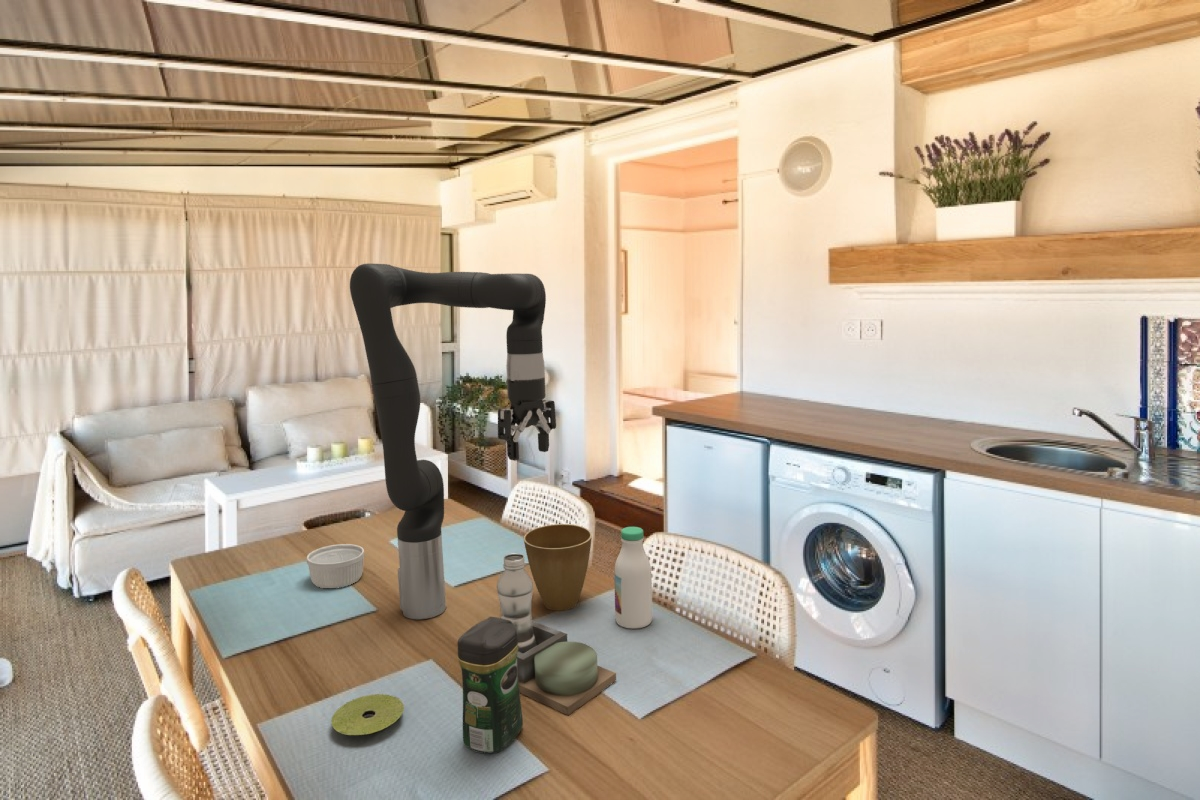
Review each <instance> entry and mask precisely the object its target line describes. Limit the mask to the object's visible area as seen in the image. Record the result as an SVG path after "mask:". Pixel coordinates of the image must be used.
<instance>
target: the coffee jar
mask: <svg viewBox="0 0 1200 800" xmlns="http://www.w3.org/2000/svg"><path fill="white" fill-rule="evenodd" d="M517 653H518V637H517V631H516V627H515V625H514V624H513V623H512V622H511V621H510V620H506V619H502V617H496V616H488V618H486V619H484V620H482V621H480V622H478V623H476V624H475V625H473V626H472V627H470V628H469V629H468V630H467V631H465V632H464V633H463V634H462V635H460V637H459V638H458V639H457V660H458V664H459V667H460V669H461V679H462V682H461V683H462V741H463V744H464V746H465V747H466V748H468V749H469V750H471V751H474V752H476V753H479V754H497V753H500V752H502V751H503V750H505V749H506V748H507V747H508V746H509V745H510V744H511V743H512V742H513V741H514V740H515V739H516V738H517V736H518V735H519V734H520V733H521V730H522V728H523V725H524V724H523V723H524V722H523V721H524V720H523V710H522V704H521V703H522V702H521V695H520V694H521V693H519V683H518V672H517Z"/></svg>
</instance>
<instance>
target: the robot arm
mask: <svg viewBox="0 0 1200 800" xmlns="http://www.w3.org/2000/svg"><path fill="white" fill-rule="evenodd" d="M349 292H350V296H351V301H352V304H353V307H354V312H355V314H356V318H357V320H358V324H359V328H360V331H361V332H360V333H361V336H362V341H363V344H364V350H365V355H366V359H367V364H368V368H369V375H370V382H371V389H372V393H373V398H374V399H373V401H374V403H375V410H376V412H377V418H378V426H379V431H380V436H381V437H380V438H381V444H382V452H383V461H384V462H383V463H384V464H383V465H384V466H383V467H384V478H385V487H386V492H387V494H388V495H387V496H388V498H389V499H390V502H391V503H392V504H393V506H395V508H397V509H398V510H399V511H404V513H403V516H402V517H401V519H400V521H398V524H397V527H396V533H397V534H396V535H397V548H398V549H397V550H398V562H399V568H398V569H397V578H398V579H397V580H398V581H397V582H398V595H399V608H400V610H401V611H402V615H403V616H404V617H405V618H407V619H411V620H428V619H431V618H434V617H437V616H439V615H441V614H442V613H444V612H445V611H446V608H447V605H446V603H447V601H446V588H445V587H446V586H445V585H446V584H445V571H444V570H445V569H444V552H443V550H444V549H443V537H442V536H443V535H442V525H443V522H444V520H445V519H444V517H445V487H444V486H445V485H444V478H443V475H442V472H441V470H440V469H439V467H438V466H437V465H436V464H435V463H434V462H433V461H431V460H428V459H417V458H418V457H417V452H416V443H415V442H416V441H415V439H416V430H417V427H418V422H419V415H420V409H421V393H420V387H419V381H418V376H417V371H416V369H415V365H414V363H413V361H412V359H411V358H410V356H409V354H408V352H407V351H406V349H405V347H404V346H403V344H402V343H401V341H400V339H399V338H398V334H397V333H396V330H395V327H394V326H395V325H394V321H393V315H392V308H396V307H399V306H400V307H401V306H406V305H414V304H435V305H436V304H437V305H443V306H449V307H456V308H468V309H469V308H470V309H471V308H473V309H488V308H490V309H495V310H503V311H505V310H507V311H512V321H511V323H510V324H509V325H508V327H507V329H506V336H505V337H506V338H505V339H506V354H507V355H506V365H505V366H506V367H505V368H506V388H507V392H506V393H507V399H508V401H509V402H510V406H509V408H506V409H505V408H499V409H498V410H497V438H498V439H499V440H502V441H505V442H506V454H507V458H508V459H509V461H510V460H511V461H514V462H516V461H518V460H519V459H520V458H519V457H520V453H519V441H518V440H519V438H520V435H521V433H523V432H524V430H525V428H526V429H527V428H529V427H531V426H533V427H535V428H536V430H537V432H538V433H537V442H538V443H537V445H538V446H537V447H538V449H537V450H538V451H539V452H542V453H546V452H548V451H549V447H550V433H551V431H552V430H555V429H557V418H556V406H555V401H554V400H549V399H545V398H546V373H545V372H546V371H545V369H546V367H545V359H544V351H543V349H544V348H543V332H542V329H543V325H544V324H543V323H544V320H545V311H546V304H547V303H546V301H547V296H546V288H545V286H544V283H543V282H542V280H541V279H540V277H539V276H537V275H536V274H533V273H488V272H480V271H479V272H477V271H447V272H423V271H417V270H412V269H411V270H410V269H408V268H407V269H406V268H402V267H398V266H394V265H391V264H387V263H362V264H360V265H358V266H356V267H355V268H354V270H353V272H352V273H351V276H350V279H349Z"/></svg>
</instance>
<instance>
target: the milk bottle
mask: <svg viewBox="0 0 1200 800" xmlns="http://www.w3.org/2000/svg"><path fill="white" fill-rule="evenodd" d="M644 535H645V534H644V529H642V527H638V526H627V527H624V528H622V529H621V531H620V537H621V539H620V540H621V542H622V544H621V549H620V551H619V553H618V556H617V558H616V561H615V564H614V613H615V615H614V617H615V622H616V624H618V625H619V626H620V627H623V628H625V629H633V630H634V629H642V628H646V627H647V626H649V625H650V624H651V622H652V620H653V592H652V591H653V587H652V584H653V583H652V568H651V567H652V566H651V563H650V562H651V561H650V559H649V558H648V555H647V553H646V551H645V548H644V543H643V541H644Z"/></svg>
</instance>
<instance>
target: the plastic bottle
mask: <svg viewBox="0 0 1200 800" xmlns="http://www.w3.org/2000/svg"><path fill="white" fill-rule="evenodd" d="M502 567H503V569H504V570H503V572H502V573H501V575H500V577H499V578H498V580H497V583H496V589H497V590H496V591H497V596H498V600H499V607H500V613H501V618H502V619H506V620H510V621H511V622H512V623H513V624H514V625H515V627H516V631H517V637H518V652H521V653H525V652H527V651H528V650H530V649H532V648H534V647H535V646H536V640H535V636H534V634H533V626H532V621H533V620H532V602H533V601H532V600H533V591H534V581H533V578H532V577H531V576H530V574H529V573H528V572H527V571H526V570H525V567H526V563H525V556H524V554H522V553H510V554H507V555H504V557H503V565H502Z"/></svg>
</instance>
